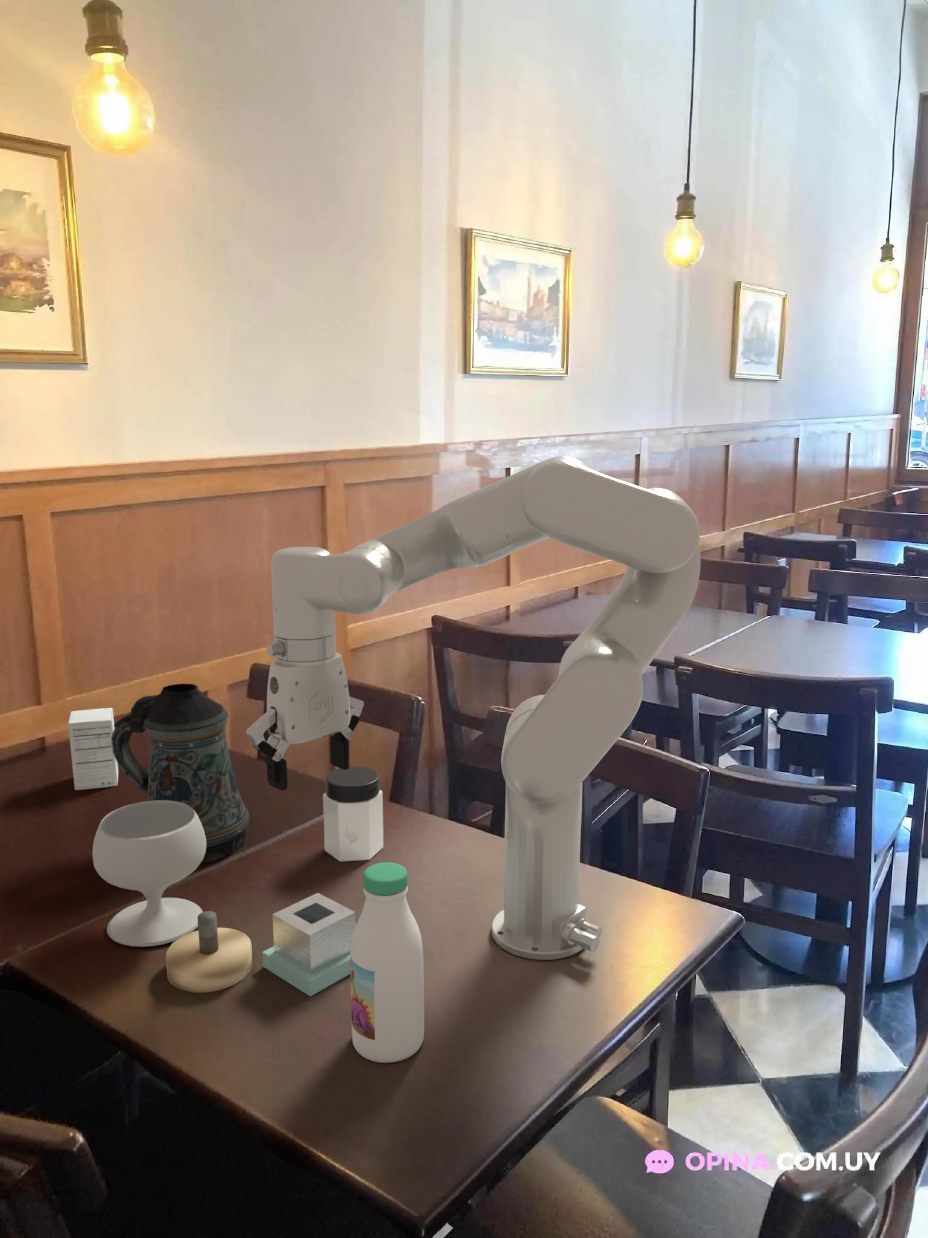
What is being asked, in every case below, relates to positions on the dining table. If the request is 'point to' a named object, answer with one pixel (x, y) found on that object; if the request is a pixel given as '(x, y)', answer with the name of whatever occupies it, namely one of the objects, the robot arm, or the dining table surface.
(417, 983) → the milk bottle
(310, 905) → the collar
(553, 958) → the robot arm
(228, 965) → the hub
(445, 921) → the dining table surface
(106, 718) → the supplement box
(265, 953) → the stand
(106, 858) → the chalice
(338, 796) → the jar
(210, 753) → the beer stein
